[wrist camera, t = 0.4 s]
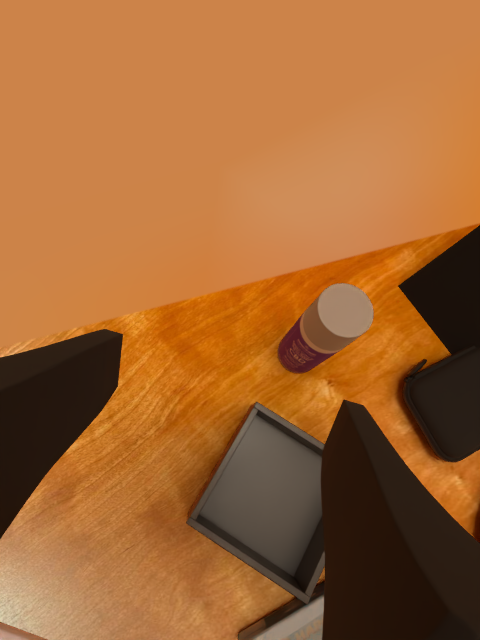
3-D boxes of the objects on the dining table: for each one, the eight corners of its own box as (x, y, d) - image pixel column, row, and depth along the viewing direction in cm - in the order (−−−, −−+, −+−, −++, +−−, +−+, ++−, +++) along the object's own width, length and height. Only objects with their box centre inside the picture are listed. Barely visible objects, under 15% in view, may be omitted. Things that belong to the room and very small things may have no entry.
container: (272, 366, 42) (309, 328, 28) (283, 328, 43) (323, 273, 29) (312, 378, 42) (369, 347, 28) (321, 340, 44) (380, 292, 29)
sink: (294, 585, 36) (307, 604, 31) (187, 513, 37) (185, 523, 32) (348, 467, 39) (366, 470, 35) (250, 405, 40) (256, 401, 36)
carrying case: (481, 328, 46) (384, 378, 43) (500, 320, 43) (397, 374, 40) (534, 408, 43) (436, 468, 40) (558, 406, 41) (454, 470, 37)
